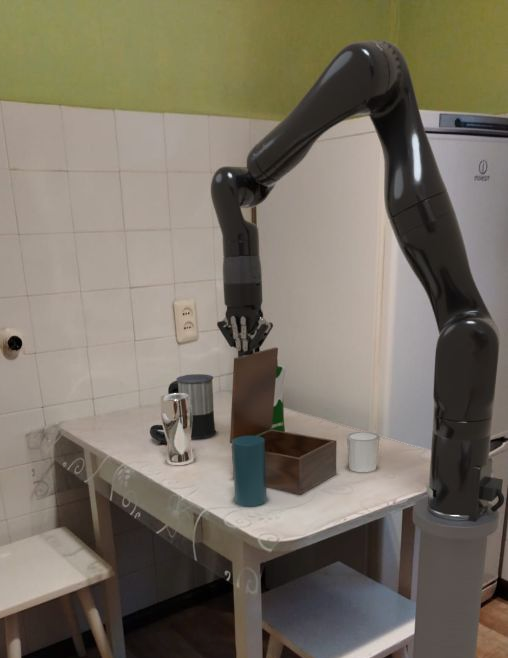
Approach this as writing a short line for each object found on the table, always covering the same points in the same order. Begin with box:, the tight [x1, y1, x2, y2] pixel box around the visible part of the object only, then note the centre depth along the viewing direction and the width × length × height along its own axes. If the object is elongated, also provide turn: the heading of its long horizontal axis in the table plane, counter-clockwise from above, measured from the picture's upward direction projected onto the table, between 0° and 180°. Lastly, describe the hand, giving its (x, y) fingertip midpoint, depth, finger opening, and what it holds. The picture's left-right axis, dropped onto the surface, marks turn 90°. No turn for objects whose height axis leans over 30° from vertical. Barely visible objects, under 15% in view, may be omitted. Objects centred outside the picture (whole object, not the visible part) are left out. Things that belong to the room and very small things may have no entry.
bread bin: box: [231, 429, 337, 496], centre depth 132 cm, size 17×14×7 cm
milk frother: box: [149, 373, 217, 444], centre depth 160 cm, size 14×16×15 cm
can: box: [231, 436, 268, 508], centre depth 120 cm, size 6×6×12 cm
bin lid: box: [229, 346, 279, 445], centre depth 132 cm, size 18×14×1 cm
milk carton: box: [253, 360, 287, 436], centre depth 155 cm, size 9×9×20 cm
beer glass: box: [159, 393, 195, 466], centre depth 143 cm, size 7×7×15 cm
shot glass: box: [346, 431, 381, 473], centre depth 135 cm, size 7×7×7 cm
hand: (246, 368), depth 131 cm, fingers closed
